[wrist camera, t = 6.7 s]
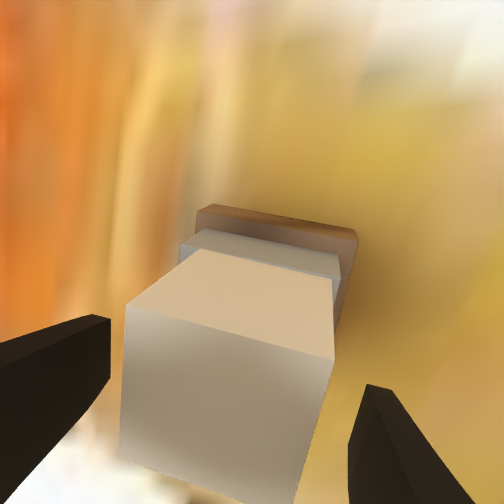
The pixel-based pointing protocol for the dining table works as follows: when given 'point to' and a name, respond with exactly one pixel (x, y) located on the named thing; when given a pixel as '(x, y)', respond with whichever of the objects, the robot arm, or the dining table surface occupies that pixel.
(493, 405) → the dining table surface
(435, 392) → the dining table surface
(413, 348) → the dining table surface
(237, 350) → the cream cube
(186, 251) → the grey slab
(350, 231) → the walnut slab
